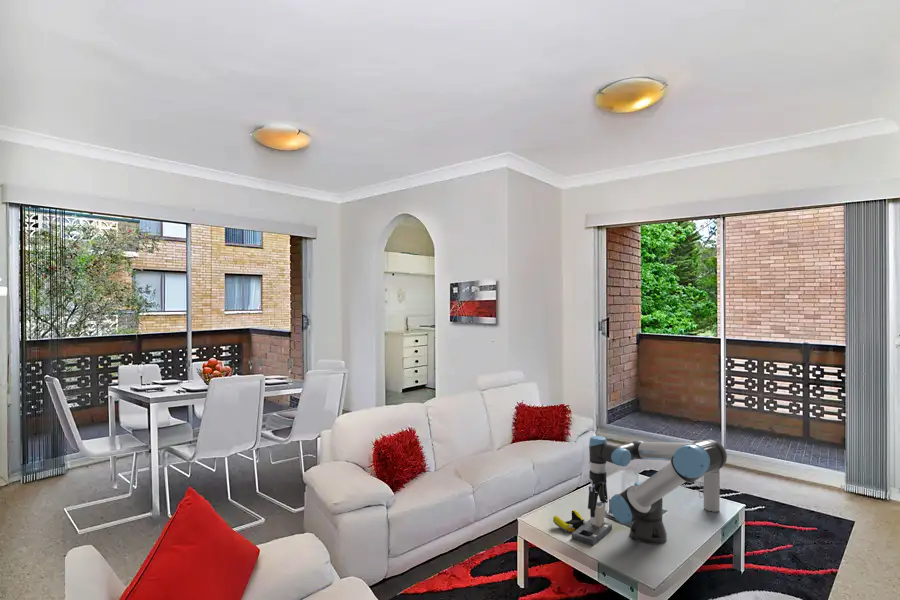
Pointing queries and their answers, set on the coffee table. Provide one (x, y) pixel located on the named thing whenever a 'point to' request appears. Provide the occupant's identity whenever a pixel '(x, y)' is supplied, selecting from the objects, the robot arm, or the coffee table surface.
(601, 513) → the plug
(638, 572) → the coffee table surface
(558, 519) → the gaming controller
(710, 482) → the water bottle
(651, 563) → the coffee table surface
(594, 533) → the panel
